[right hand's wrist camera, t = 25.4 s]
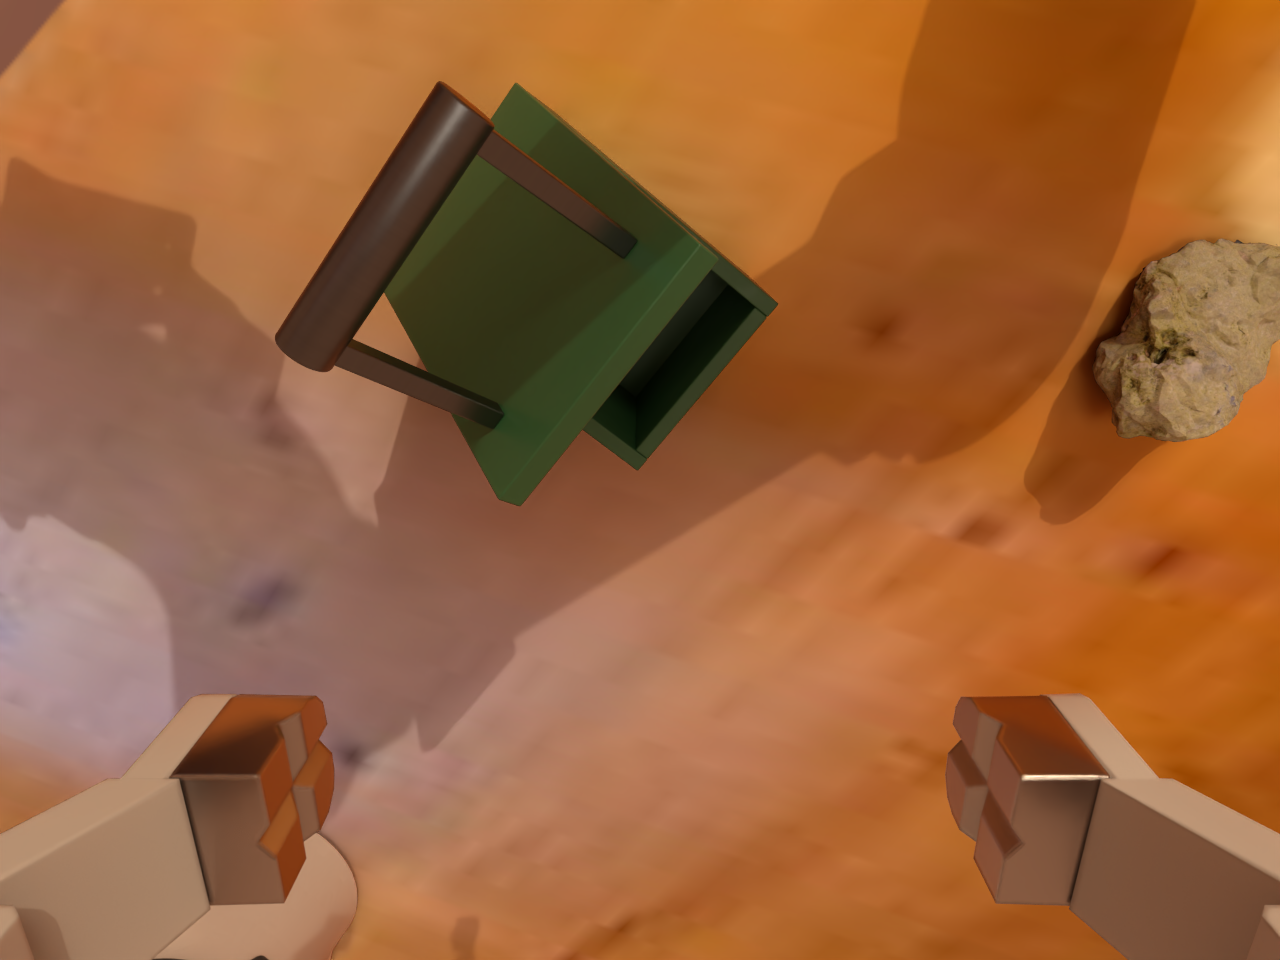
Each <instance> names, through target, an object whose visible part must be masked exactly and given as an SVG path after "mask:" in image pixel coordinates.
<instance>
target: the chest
mask: <svg viewBox="0 0 1280 960" xmlns="http://www.w3.org/2000/svg"><path fill="white" fill-rule="evenodd" d="M528 93H529V92H528ZM532 96H533V95H532ZM533 97H534V96H533ZM534 98H535V97H534ZM535 99H537V98H535ZM537 100H538V99H537ZM538 101H539V100H538ZM539 102H540V103H541V104H542V105H543V106H545V107H546V108H547V109H548V110H549V111H550V112H552V113H553V114H554V115H555V116H556V117H557V118H558V119H560V120H561V121H562V122H563V123H564V124H565V125H566V126H568V127H569V128H570V129H571V130H572V131H573V132H574V133H576V134H577V135H578V136H579V137H580V138H581V139H583V140H584V141H585V142H586V143H587V144H588V145H589V146H591V147H592V148H593V149H594V150H595V151H596V152H597V153H599V154H600V155H601V156H602V157H603V158H604V159H605V160H607V161H608V162H609V163H610V164H611V165H612V166H613V167H615V168H616V169H617V170H618V171H619V172H620V173H622V174H623V175H624V176H625V177H626V178H627V179H628V180H630V181H631V182H632V183H633V184H634V185H635V186H636V187H638V188H639V189H640V190H641V191H642V192H643V193H644V194H646V195H647V196H648V197H649V198H650V199H651V200H652V201H654V202H655V203H656V204H657V205H658V206H659V207H661V208H662V209H663V210H664V211H665V212H666V213H667V214H669V215H670V216H671V217H672V218H673V219H674V220H675V221H677V222H678V223H679V224H680V225H681V226H682V227H683V228H685V229H686V230H687V231H688V232H689V233H690V234H691V235H693V236H694V237H695V238H696V239H697V240H698V241H700V242H701V243H702V244H703V245H704V246H705V247H706V248H708V249H709V250H710V251H711V252H712V253H713V254H714V255H716V256H717V257H718V261H717V263H716V264H715V265H714V266H713V268H712V269H711V270H710V271H709V273H708V274H707V275H706V276H705V278H704V279H703V280H702V281H701V283H700V284H699V285H698V286H697V288H696V289H695V290H694V291H693V293H692V294H691V295H690V296H689V298H688V299H687V300H686V301H685V302H684V304H683V305H682V306H681V307H680V309H679V310H678V311H677V312H676V314H675V315H674V316H673V317H672V319H671V320H670V321H669V322H668V324H667V325H666V326H665V327H664V329H663V330H662V331H661V332H660V334H659V335H658V336H657V337H656V339H655V340H654V341H653V342H652V344H651V345H650V346H649V347H648V348H647V350H646V351H645V352H644V353H643V355H642V356H641V357H640V358H639V360H638V361H637V362H636V363H635V365H634V366H633V367H632V368H631V370H630V371H629V372H628V373H627V375H626V376H625V377H624V378H623V380H622V381H621V382H620V383H619V385H618V386H617V387H616V388H615V390H614V391H613V392H612V393H611V394H610V396H609V397H608V398H607V399H606V401H605V402H604V403H603V404H602V406H601V407H600V408H599V409H598V411H597V412H596V413H595V414H594V416H593V417H592V418H591V419H590V421H589V422H588V423H587V424H586V426H585V427H584V428H583V429H582V430H584V431H585V432H586V433H588V434H589V435H590V436H592V437H593V438H594V439H596V440H597V441H598V442H600V443H601V444H602V445H604V446H605V447H606V448H608V449H609V450H610V451H612V452H613V453H614V454H616V455H617V456H618V457H620V458H621V459H623V460H624V461H625V462H627V463H628V464H629V465H631V466H632V467H633V468H635V469H636V470H639V469H640V467H641V466H642V465H643V464H644V463H645V462H646V460H647V458H649V457H650V455H651V454H652V453H653V452H654V451H655V449H656V448H657V447H658V446H659V445H660V444H661V442H662V441H663V440H664V439H665V438H666V436H667V435H668V434H669V433H670V432H671V431H672V429H673V428H674V427H675V426H676V425H677V423H678V422H679V421H680V420H681V419H682V417H683V416H684V415H685V414H686V413H687V412H688V410H689V409H690V408H691V407H692V406H693V404H694V403H695V402H696V401H697V400H698V399H699V397H700V396H701V395H702V394H703V393H704V391H705V390H706V389H707V388H708V387H709V386H710V384H711V383H712V382H713V381H714V380H715V378H716V377H717V376H718V375H719V374H720V372H721V371H722V370H723V369H724V368H725V367H726V365H727V364H728V363H729V362H730V361H731V359H732V358H733V357H734V356H735V355H736V354H737V352H738V351H739V350H740V349H741V348H742V346H743V345H744V344H745V343H746V342H747V341H748V339H749V338H750V337H751V336H752V335H753V333H754V332H755V331H756V330H757V329H758V327H759V326H760V325H761V324H762V323H763V322H764V320H765V319H766V316H769V315H770V314H771V312H772V311H773V310H774V309H775V308H776V306H777V305H778V303H777V302H776V301H775V300H774V299H773V298H772V297H771V296H769V295H768V294H767V293H766V292H765V291H764V290H763V289H762V288H761V287H760V286H759V285H757V284H756V283H755V282H754V281H753V280H752V279H751V278H750V277H749V276H748V275H747V274H745V273H744V272H743V271H742V270H741V269H739V268H738V267H737V266H736V265H735V264H734V263H732V262H731V261H730V260H729V259H728V258H726V257H725V256H724V255H723V254H722V253H721V252H719V251H718V250H717V249H716V248H715V247H713V246H712V245H711V244H710V243H709V242H708V241H706V240H705V239H704V238H703V237H702V236H700V235H699V234H698V233H697V232H696V231H695V230H693V229H692V228H691V227H690V226H689V225H687V224H686V223H685V222H684V221H683V220H682V219H680V218H679V217H678V216H677V215H676V214H674V213H673V212H672V211H671V210H670V209H669V208H667V207H666V206H665V205H664V204H663V203H661V202H660V201H659V200H658V199H657V198H656V197H654V196H653V195H652V194H651V193H650V192H648V191H647V190H646V189H645V188H644V187H643V186H641V185H640V184H639V183H638V182H637V181H635V180H634V179H633V178H632V177H631V176H630V175H628V174H627V173H626V172H625V171H624V170H622V169H621V168H620V167H619V166H618V165H617V164H615V163H614V162H613V161H612V160H611V159H609V158H608V157H607V156H606V155H605V154H604V153H602V152H601V151H600V150H599V149H598V148H596V147H595V146H594V145H593V144H592V143H591V142H589V141H588V140H587V139H586V138H585V137H583V136H582V135H581V134H580V133H579V132H578V131H576V130H575V129H574V128H573V127H572V126H570V125H569V124H568V123H567V122H566V121H565V120H563V119H562V118H561V117H560V116H559V115H558V114H556V113H555V112H554V111H553V110H551V109H550V108H549V107H547V106H546V105H545V104H543V103H542V102H541V101H539Z"/></svg>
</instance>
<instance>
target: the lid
mask: <svg viewBox="0 0 1280 960" xmlns="http://www.w3.org/2000/svg"><path fill="white" fill-rule="evenodd" d="M717 261H718V257H717V256H716V255H714V254H713V253H712V252H711V251H710V250H709V249H708V248H706V247H705V246H704V245H703V244H702V243H701V242H700V241H698V240H697V239H696V238H695V237H694V236H693V235H691V234H690V233H689V232H688V231H687V230H686V229H685V228H683V227H682V226H681V225H680V224H679V223H678V222H677V221H675V220H674V219H673V218H672V217H671V216H670V215H669V214H667V213H666V212H665V211H664V210H663V209H662V208H661V207H659V206H658V205H657V204H656V203H655V202H654V201H652V200H651V199H650V198H649V197H648V196H647V195H646V194H644V193H643V192H642V191H641V190H640V189H639V188H638V187H636V186H635V185H634V184H633V183H632V182H631V181H630V180H628V179H627V178H626V177H625V176H624V175H623V174H622V173H620V172H619V171H618V170H617V169H616V168H615V167H613V166H612V165H611V164H610V163H609V162H608V161H607V160H605V159H604V158H603V157H602V156H601V155H600V154H599V153H597V152H596V151H595V150H594V149H593V148H592V147H591V146H589V145H588V144H587V143H586V142H585V141H584V140H583V139H581V138H580V137H579V136H578V135H577V134H576V133H574V132H573V131H572V130H571V129H570V128H569V127H568V126H566V125H565V124H564V123H563V122H562V121H561V120H560V119H558V118H557V117H556V116H555V115H554V114H553V113H552V112H550V111H549V110H548V109H547V108H546V107H545V106H543V105H542V104H541V103H540V102H539V101H538V100H537V99H535V98H534V97H533V96H532V95H531V94H530V93H528V92H527V91H526V90H525V89H524V88H522V87H521V86H520V85H519V84H518V83H515V84H514V85H513V87H512V88H511V90H510V91H509V93H508V94H507V96H506V97H505V99H504V100H503V102H502V103H501V105H500V106H499V108H498V109H497V111H496V112H495V114H494V115H493V117H492V118H491V120H490V119H489V118H488V117H487V116H486V115H485V114H483V113H482V112H481V111H480V110H479V109H478V108H476V107H475V106H474V105H473V104H472V103H470V102H469V101H468V100H467V99H465V98H464V97H463V96H462V95H460V94H459V93H458V92H456V91H455V90H454V89H452V88H451V87H450V86H448V85H447V84H445V83H444V82H441V81H439V82H437V83H436V85H435V87H434V88H433V90H432V91H431V93H430V94H429V96H428V97H427V99H426V101H425V102H424V104H423V105H422V107H421V108H420V110H419V111H418V113H417V115H416V116H415V118H414V119H413V121H412V122H411V124H410V126H409V127H408V129H407V130H406V132H405V133H404V135H403V136H402V138H401V140H400V141H399V143H398V144H397V146H396V147H395V149H394V150H393V152H392V154H391V155H390V157H389V158H388V160H387V161H386V163H385V165H384V166H383V168H382V169H381V171H380V172H379V174H378V175H377V177H376V179H375V180H374V182H373V183H372V185H371V186H370V188H369V190H368V191H367V193H366V194H365V196H364V197H363V199H362V200H361V202H360V204H359V205H358V207H357V208H356V210H355V211H354V213H353V214H352V216H351V218H350V219H349V221H348V222H347V224H346V225H345V227H344V229H343V230H342V232H341V233H340V235H339V236H338V238H337V239H336V241H335V243H334V244H333V246H332V247H331V249H330V250H329V252H328V254H327V255H326V257H325V258H324V260H323V261H322V263H321V264H320V266H319V268H318V269H317V271H316V272H315V274H314V275H313V277H312V278H311V280H310V282H309V283H308V285H307V286H306V288H305V289H304V291H303V293H302V294H301V296H300V297H299V299H298V300H297V302H296V303H295V305H294V307H293V308H292V310H291V311H290V313H289V314H288V316H287V317H286V319H285V321H284V322H283V324H282V325H281V327H280V328H279V330H278V332H277V333H276V335H275V341H276V344H277V345H278V347H279V348H280V349H281V350H282V351H283V352H284V353H285V354H286V355H287V356H288V357H290V358H291V359H293V360H294V361H296V362H297V363H299V364H301V365H303V366H305V367H307V368H309V369H312V370H315V371H319V372H328V371H330V370H331V369H332V368H333V367H334V365H335V366H337V367H340V368H342V369H345V370H347V371H350V372H352V373H355V374H357V375H360V376H362V377H365V378H367V379H369V380H372V381H374V382H377V383H379V384H382V385H384V386H387V387H389V388H392V389H394V390H397V391H399V392H402V393H404V394H406V395H409V396H411V397H414V398H416V399H419V400H421V401H424V402H426V403H429V404H431V405H434V406H436V407H438V408H441V409H443V410H446V411H448V412H450V413H451V414H452V416H453V418H454V420H455V422H456V423H457V425H458V427H459V429H460V431H461V432H462V434H463V436H464V438H465V440H466V442H467V443H468V445H469V447H470V449H471V451H472V452H473V454H474V456H475V458H476V460H477V461H478V463H479V465H480V467H481V469H482V471H483V472H484V474H485V476H486V478H487V480H488V481H489V483H490V485H491V487H492V489H493V490H494V492H495V494H496V496H497V498H498V499H499V500H502V501H505V502H508V503H511V504H514V505H517V506H521V505H522V504H523V503H524V501H525V500H526V499H527V498H528V496H529V495H530V494H531V493H532V491H533V490H534V489H535V488H536V486H537V485H538V484H539V483H540V482H541V480H542V479H543V478H544V477H545V475H546V474H547V473H548V472H549V470H550V469H551V468H552V467H553V465H554V464H555V463H556V462H557V460H558V459H559V458H560V457H561V455H562V454H563V453H564V452H565V450H566V449H567V448H568V447H569V445H570V444H571V443H572V442H573V440H574V439H575V438H576V437H577V436H578V434H579V433H580V432H581V431H582V429H583V428H584V427H585V426H586V424H587V423H588V422H589V421H590V419H591V418H592V417H593V416H594V414H595V413H596V412H597V411H598V409H599V408H600V407H601V406H602V404H603V403H604V402H605V401H606V399H607V398H608V397H609V396H610V394H611V393H612V392H613V391H614V390H615V388H616V387H617V386H618V385H619V383H620V382H621V381H622V380H623V378H624V377H625V376H626V375H627V373H628V372H629V371H630V370H631V368H632V367H633V366H634V365H635V363H636V362H637V361H638V360H639V358H640V357H641V356H642V355H643V353H644V352H645V351H646V350H647V348H648V347H649V346H650V345H651V344H652V342H653V341H654V340H655V339H656V337H657V336H658V335H659V334H660V332H661V331H662V330H663V329H664V327H665V326H666V325H667V324H668V322H669V321H670V320H671V319H672V317H673V316H674V315H675V314H676V312H677V311H678V310H679V309H680V307H681V306H682V305H683V304H684V302H685V301H686V300H687V299H688V298H689V296H690V295H691V294H692V293H693V291H694V290H695V289H696V288H697V286H698V285H699V284H700V283H701V281H702V280H703V279H704V278H705V276H706V275H707V274H708V273H709V271H710V270H711V269H712V268H713V266H714V265H715V264H716V263H717ZM383 293H385V295H386V297H387V298H388V300H389V302H390V304H391V306H392V307H393V309H394V311H395V313H396V315H397V317H398V318H399V320H400V322H401V324H402V326H403V327H404V329H405V331H406V333H407V335H408V336H409V338H410V340H411V342H412V344H413V346H414V347H415V349H416V351H417V353H418V355H419V356H420V358H421V360H422V362H423V364H424V365H425V367H426V369H427V371H428V372H426V371H424V370H422V369H419V368H417V367H415V366H413V365H410V364H408V363H406V362H403V361H401V360H399V359H397V358H394V357H392V356H390V355H388V354H385V353H383V352H381V351H378V350H376V349H374V348H372V347H369V346H367V345H365V344H363V343H360V342H358V341H356V340H353V337H354V336H355V334H356V333H357V331H358V330H359V328H360V327H361V325H362V324H363V322H364V321H365V319H366V318H367V316H368V315H369V313H370V312H371V310H372V309H373V307H374V306H375V304H376V303H377V301H378V300H379V298H380V297H381V296H382V294H383Z"/></svg>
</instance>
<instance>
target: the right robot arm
mask: <svg viewBox="0 0 1280 960" xmlns="http://www.w3.org/2000/svg"><path fill="white" fill-rule="evenodd" d="M326 725H327V720H326V715H325V710H324V705H323V702H322V701H321V700H320V699H319V698H318V697H317V696H304V695H257V694H240V695H236V694H200V695H197V696H194V697H191V698H190V699H189V700H188V701H187V703H186V704H185V705H184V706H183V707H182V708H181V710H180V711H179V712H178V713H177V714H176V715H175V716H174V718H173V719H172V720H171V721H170V722H169V723H168V725H167V726H166V727H165V728H164V729H163V730H162V731H161V733H160V734H159V735H158V736H157V737H156V738H155V739H154V741H153V742H152V743H151V744H150V745H149V746H148V748H147V749H146V750H145V751H144V752H143V753H142V754H141V756H140V757H139V758H138V759H137V760H136V761H135V762H134V764H133V765H132V766H131V767H130V768H129V769H128V771H127V772H126V773H125V774H124V775H123V776H122V777H121V779H106V780H104V781H102V782H100V783H98V784H96V785H94V786H92V787H90V788H89V789H87V790H85V791H83V792H81V793H79V794H77V795H75V796H73V797H71V798H69V799H67V800H65V801H63V802H61V803H59V804H57V805H55V806H54V807H52V808H50V809H48V810H46V811H44V812H42V813H40V814H38V815H36V816H34V817H32V818H30V819H28V820H26V821H24V822H22V823H21V824H19V825H17V826H15V827H13V828H11V829H9V830H7V831H5V832H3V833H1V834H0V960H331V955H332V951H333V949H334V948H335V946H336V945H337V943H338V942H339V940H340V939H341V937H342V936H343V934H344V933H345V932H346V930H347V929H348V927H349V926H350V924H351V922H352V920H353V918H354V915H355V912H356V908H357V897H358V896H357V887H356V883H355V879H354V877H353V874H352V872H351V870H350V868H349V866H348V864H347V863H346V861H345V860H344V858H343V857H342V856H341V854H340V853H339V852H338V851H337V850H336V849H335V848H334V847H333V846H332V845H331V844H330V843H329V842H328V841H327V840H326V839H325V838H323V837H322V836H321V835H319V834H318V833H317V832H318V831H319V830H321V827H322V825H323V823H324V821H325V819H326V817H327V814H328V812H329V809H330V804H331V799H332V795H333V790H334V764H333V757H332V753H331V752H330V751H329V750H328V749H327V747H326V746H325V745H324V744H323V743H322V742H321V741H320V740H319V738H320V736H321V734H322V732H323V731H324V729H325V727H326ZM953 725H954V727H955V729H956V731H957V732H958V734H959V736H960V738H961V740H960V741H959V742H958V743H957V744H956V745H955V746H954V747H953V749H952V750H951V751H950V752H949V753H948V758H947V766H946V774H945V776H946V787H947V798H948V801H949V805H950V808H951V812H952V815H953V817H954V819H955V821H956V823H957V825H958V828H959V830H961V831H962V832H963V833H965V834H966V835H967V836H969V837H970V838H972V839H973V840H974V841H976V847H975V852H974V860H975V862H976V864H977V866H978V868H979V870H980V872H981V874H982V876H983V878H984V881H985V883H986V885H987V887H988V889H989V891H990V893H991V895H992V897H993V899H994V901H995V903H997V904H1032V905H1067V906H1070V907H1069V909H1070V910H1071V911H1072V912H1073V913H1074V914H1076V915H1077V916H1078V917H1079V918H1080V919H1081V920H1083V921H1084V922H1085V923H1086V924H1087V925H1088V926H1090V927H1091V928H1092V929H1093V930H1094V931H1095V932H1097V933H1098V934H1099V935H1100V936H1101V937H1102V938H1104V939H1105V940H1106V941H1107V942H1108V943H1109V944H1111V945H1112V946H1113V947H1114V948H1115V949H1116V950H1118V951H1119V952H1120V953H1121V954H1122V955H1123V956H1125V957H1126V958H1127V959H1128V960H1280V834H1279V833H1277V832H1275V831H1273V830H1271V829H1269V828H1267V827H1265V826H1263V825H1261V824H1259V823H1257V822H1255V821H1253V820H1251V819H1250V818H1248V817H1246V816H1244V815H1242V814H1240V813H1238V812H1236V811H1234V810H1232V809H1230V808H1228V807H1226V806H1224V805H1222V804H1220V803H1219V802H1217V801H1215V800H1213V799H1211V798H1209V797H1207V796H1205V795H1203V794H1201V793H1199V792H1197V791H1195V790H1193V789H1191V788H1189V787H1188V786H1186V785H1184V784H1182V783H1180V782H1178V781H1176V780H1174V779H1159V777H1158V776H1157V775H1156V774H1155V773H1154V772H1153V771H1152V769H1151V768H1150V767H1149V766H1148V765H1147V764H1146V763H1145V761H1144V760H1143V759H1142V758H1141V757H1140V756H1139V754H1138V753H1137V752H1136V751H1135V750H1134V749H1133V748H1132V746H1131V745H1130V744H1129V743H1128V742H1127V741H1126V740H1125V738H1124V737H1123V736H1122V735H1121V734H1120V733H1119V731H1118V730H1117V729H1116V728H1115V727H1114V726H1113V725H1112V723H1111V722H1110V721H1109V720H1108V719H1107V718H1106V717H1105V715H1104V714H1103V713H1102V712H1101V711H1100V710H1099V708H1098V707H1097V706H1096V705H1095V704H1094V703H1093V702H1092V700H1091V699H1090V698H1088V697H1086V696H1084V695H1082V694H1080V693H1079V694H1047V695H1040V696H978V697H961V698H960V700H959V702H958V704H957V706H956V708H955V714H954V720H953Z"/></svg>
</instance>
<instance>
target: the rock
mask: <svg viewBox="0 0 1280 960" xmlns="http://www.w3.org/2000/svg"><path fill="white" fill-rule="evenodd" d="M1279 339H1280V247H1275V246H1272V245H1268V244H1264V243H1248V244H1244V243H1242V242H1240V241H1239V240H1236V242H1235V243H1234V242H1231V241H1230V240H1225V239H1219V240H1217V241H1216V243H1214V244H1213V243H1211V242H1207V241H1205V240H1197V241H1194V242H1190V243H1188V244H1186V245H1185V246H1184V247H1182V248H1181V249H1180V250H1179V251H1178V252H1177V253H1173V254H1171V255H1170V256H1168V257H1165V258H1162V259H1160V260H1157V261H1152V262H1151V263H1149V264H1148V265H1147V266H1146V267H1145V268H1143V272H1142V273H1141V274H1140V277H1139V279H1138V281H1137V282H1136V283H1135V288H1134V292H1133V301H1132V302H1131V306H1130V312H1129V315H1128V316H1127V317H1126V319H1125V321H1124V322H1123V326H1122V327H1121V332H1120V334H1119V335H1118V336H1114V337H1112V338H1110V339H1107V340H1105V341H1103V342H1101V343H1100V345H1099V346H1098V348H1097V350H1096V359H1095V362H1094V364H1093V365H1092V370H1093V373H1094V378H1095V381H1096V383H1097V384H1098V385H1099V386H1100V388H1101V389H1102V390H1103V392H1104V393H1105V394H1106V395H1107V398H1108V400H1109V401H1110V403H1111V407H1112V423H1113V424H1114V425H1115V426H1116V427H1117V431H1116V432H1117V434H1118V436H1120V437H1123V438H1133V437H1136V436H1147V437H1153V438H1155V439H1156V440H1162V441H1172V442H1180V441H1186V440H1190V439H1198V438H1204V437H1208V436H1210V435H1212V434H1214V433H1215V432H1217V431H1218V430H1220V429H1221V428H1223V427H1224V426H1226V425H1228V424H1229V423H1230V421H1231V420H1232V419H1233V418H1234V417H1235V416H1236V415H1237V413H1238V410H1239V407H1240V402H1241V401H1242V400H1243V394H1244V393H1245V392H1247V391H1248V390H1249V389H1250V388H1252V387H1253V386H1254V385H1256V384H1259V383H1260V382H1261V381H1262V380H1263V379H1264V378H1265V375H1266V371H1267V366H1268V363H1269V360H1270V350H1271V346H1272V344H1273V343H1275V342H1276V341H1278V340H1279Z"/></svg>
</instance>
